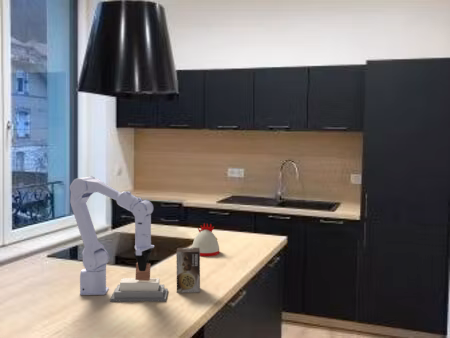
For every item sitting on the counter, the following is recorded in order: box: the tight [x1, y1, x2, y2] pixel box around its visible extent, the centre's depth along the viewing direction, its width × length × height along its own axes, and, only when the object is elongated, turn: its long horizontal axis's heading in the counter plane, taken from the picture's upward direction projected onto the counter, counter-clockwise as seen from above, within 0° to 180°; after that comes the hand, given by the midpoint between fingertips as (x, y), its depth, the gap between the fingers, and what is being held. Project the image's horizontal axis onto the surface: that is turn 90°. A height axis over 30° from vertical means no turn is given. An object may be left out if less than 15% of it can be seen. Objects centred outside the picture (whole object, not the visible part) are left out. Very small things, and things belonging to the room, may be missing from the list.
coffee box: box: [175, 247, 201, 294], centre depth 206 cm, size 9×6×16 cm
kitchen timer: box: [191, 223, 220, 257], centre depth 265 cm, size 14×14×15 cm
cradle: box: [109, 284, 169, 303], centre depth 199 cm, size 20×12×3 cm, turn 93°
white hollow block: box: [119, 277, 160, 291], centre depth 199 cm, size 6×14×5 cm, turn 92°
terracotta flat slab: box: [135, 262, 152, 281], centre depth 197 cm, size 2×5×6 cm, turn 86°
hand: (143, 269), depth 197 cm, fingers closed on terracotta flat slab, 2 cm apart
